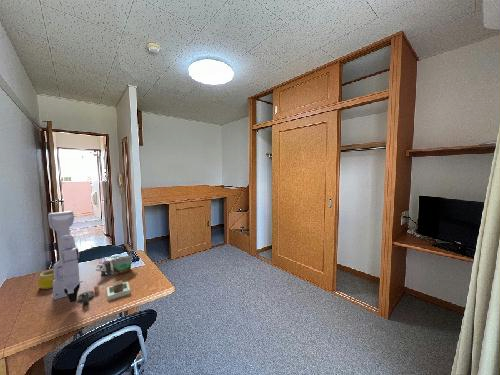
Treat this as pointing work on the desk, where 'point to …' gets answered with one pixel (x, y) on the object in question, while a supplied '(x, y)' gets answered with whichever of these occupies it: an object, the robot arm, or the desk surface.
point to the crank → (85, 297)
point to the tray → (119, 294)
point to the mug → (46, 279)
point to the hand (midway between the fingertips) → (73, 301)
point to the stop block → (118, 286)
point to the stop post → (96, 289)
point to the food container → (122, 265)
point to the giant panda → (105, 267)
